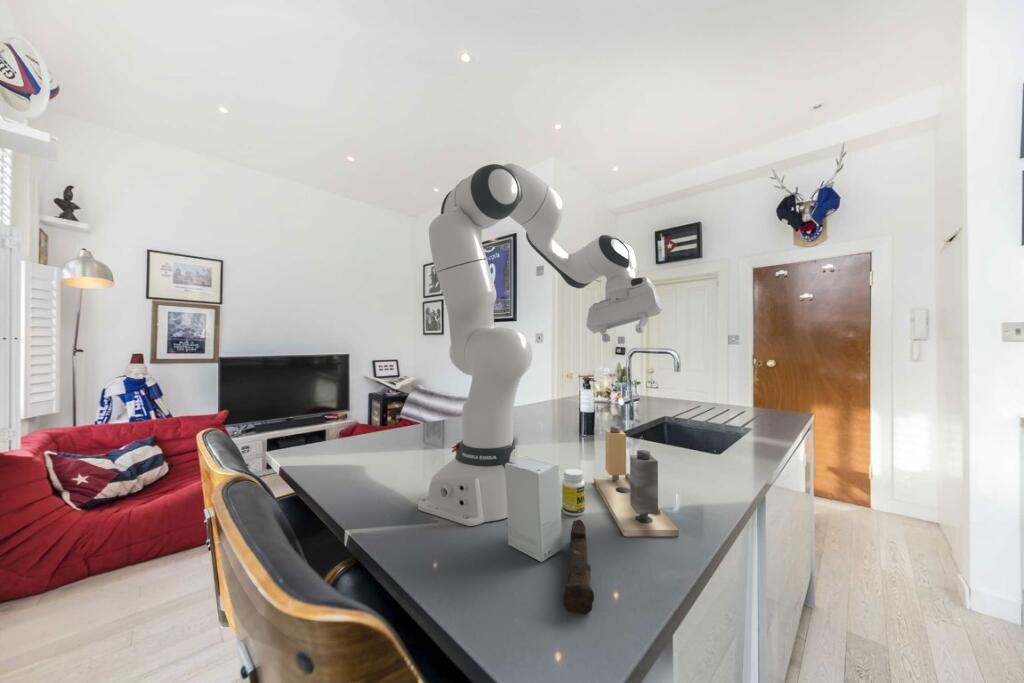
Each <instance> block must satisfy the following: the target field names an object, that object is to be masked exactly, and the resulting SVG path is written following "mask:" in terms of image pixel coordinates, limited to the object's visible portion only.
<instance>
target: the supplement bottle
mask: <svg viewBox="0 0 1024 683" xmlns="http://www.w3.org/2000/svg"><path fill="white" fill-rule="evenodd" d="M561 484H562V486H561V488H562V490H561V492H562V493H561V494H562V498H561V500H562V502H561V505H562V506H561V508H562V509H561V511H562V512H563V513H564V514H565V515H568V516H573V517H578V516H582V515H583V514H584V513H585V510H586V502H585V501H586V492H585V491H586V488H585V486H586V484H585V481H584V472H583V470H581V469H578V468H567V469H564V471H563V480H562V483H561Z"/></svg>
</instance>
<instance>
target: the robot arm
mask: <svg viewBox="0 0 1024 683" xmlns="http://www.w3.org/2000/svg"><path fill="white" fill-rule="evenodd" d="M563 215H564V204H563V201H562V198H561V197H560V195H559V194H558V192H556V191H555V189H553V188H552V187H551V186H550V185H549V184H547V183H546V182H545V181H543V180H542V179H541V178H540V177H538V176H536V175H535V174H534V173H532V172H530V171H528V170H527V169H525V168H523V167H521V166H519V165H517V164H515V163H506V164H503V165H502V164H498V163H492V164H491V163H490V164H486V165H484V166H482V167H480V168H478V169H476V170H475V172H473V173H472V174H470V175H469V176H468V177H466V178H464V179H462V180H461V181H459V183H458V184H456V186H455V187H453V189H452V190H450V191H449V192H448V193H447V194H446V195H445V197H444V199H443V201H442V203H441V207H440V214H439V215H438V216H436V217H435V218H434V219H433V220H432V221H431V222H430V224H429V227H428V238H429V245H430V247H429V248H430V252H431V257H432V261H433V266H434V269H435V273H436V275H437V279H438V282H439V287H440V289H441V293H442V297H443V299H444V303H445V306H446V310H447V318H448V324H449V325H448V328H449V337H450V346H449V358H450V361H451V363H452V364H453V365H454V367H456V368H457V370H459V371H460V372H462V373H463V374H465V375H467V376H470V377H471V384H470V386H469V387H470V388H469V392H468V396H467V399H466V401H465V402H464V403H463V404H462V418H461V419H462V439H461V441H459V442H457V443H456V444H455V445H454V446H452V447H451V449H452V450H451V453H455V455H454V456H455V457H454V458H453V459H451V460H450V461H449V462H447V464H445V465H444V466H443V467H441V468H440V469H439V470H438V471H436V473H434V475H433V476H432V478H431V480H430V483H429V487H428V491H427V492H426V493H425V494H423V495H422V497H421V498H419V500H418V502H417V510H419V511H421V512H425V513H427V514H430V515H431V514H432V515H433V516H436V517H440V518H443V519H446V520H449V521H451V522H455V523H458V524H461V525H464V526H468V527H473V526H478V525H480V524H484V523H486V522H488V523H489V522H494V521H499V520H505V519H506V518H507V498H506V476H505V464H506V463H509V462H511V461H514V460H517V457H516V456H517V454H516V452H517V451H516V441H515V440H514V407H515V400H516V396H517V392H518V387H519V385H520V382H521V380H522V378H523V376H524V375H525V373H527V372H528V370H529V369H530V366H531V364H532V360H533V347H532V344H531V343H530V342H531V341H529V339H528V338H527V337H526V335H524V334H522V333H521V332H520V331H517V330H515V329H510V328H508V327H503V326H502V327H500V326H499V327H496V326H495V319H494V318H495V317H494V315H495V314H494V312H495V311H494V307H495V303H496V300H497V297H498V296H497V290H496V287H495V286H496V285H495V282H494V278H493V274H492V271H491V269H490V265H489V262H488V258H487V255H486V251H485V248H484V245H483V242H482V240H483V239H482V234H483V230H485V229H489V228H491V227H493V226H495V225H496V224H498V223H499V222H500V221H502V220H504V219H506V218H507V217H509V218H510V219H512V220H513V221H515V222H516V223H517V224H519V225H520V226H521V227H522V228H523V229H524V230H525V237H526V240H527V242H528V244H529V245H530V246H531V248H532V249H533V250H534V251H535V252H536V253H537V254H538V255H539V256H540V257H542V259H543V260H544V261H546V262H547V263H548V264H549V265H550V266H551V267H552V268H553V269H554V270H555V271H556V272H557V273H558V274H559V275H560V276H561V278H562V279H563V281H565V283H566V284H567V285H569V286H570V287H571V288H575V289H584V288H585V287H586V286H589V285H590V284H591V283H592V282H594V281H596V280H597V279H599V278H601V277H605V279H606V282H605V288H604V289H605V295H604V297H605V298H604V300H600V301H598V302H594V303H593V304H592V305H591V306H590V307H589V308H588V312H587V316H586V317H587V318H586V328H587V329H588V330H589V331H590V332H592V333H593V334H596V333H600V335H601V340H602V342H603V343H608V342H610V341H611V336H610V335H609V333H607V331H608V330H610V329H613V328H618V327H620V326H625V325H628V324H631V323H634V322H637V321H639V322H638V323H637V324H635V332H637V334H641V333H644V332H645V326H646V324H647V323H648V321H649V318H651V317H654V316H658V315H660V314H661V312H662V310H663V305H662V301H661V298H660V295H659V294H658V290H657V288H656V287H655V285H654V283H653V282H652V281H651V280H650V279H649V278H648V277H647V276H641V277H638V263H637V257H636V254H635V251H634V249H633V248H632V247H631V246H630V245H629V244H626V243H624V242H623V241H621V240H620V238H617V237H615V236H612V235H610V234H609V235H608V234H603V235H600V236H598V237H597V238H595V239H594V240H592V241H590V242H589V243H587V245H585V246H583V247H581V248H580V249H579V250H577V251H576V252H573V253H567V252H566V251H565V250H563V248H562V247H561V246H560V245H559V244H558V243H557V242H556V241H555V240H554V239H553V237H554V236H555V234H556V233H557V231H558V229H559V227H560V224H561V223H562V219H563Z"/></svg>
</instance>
